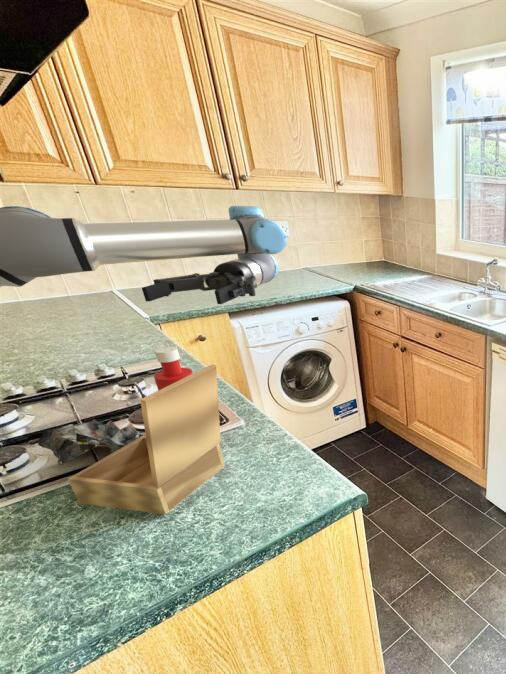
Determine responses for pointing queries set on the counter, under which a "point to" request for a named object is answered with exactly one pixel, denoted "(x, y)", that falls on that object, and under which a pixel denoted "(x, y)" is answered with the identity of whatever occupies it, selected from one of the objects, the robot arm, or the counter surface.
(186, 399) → the chest lid
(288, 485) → the counter surface
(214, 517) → the counter surface
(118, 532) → the counter surface
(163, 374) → the ketchup bottle
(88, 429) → the foil
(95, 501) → the chest
